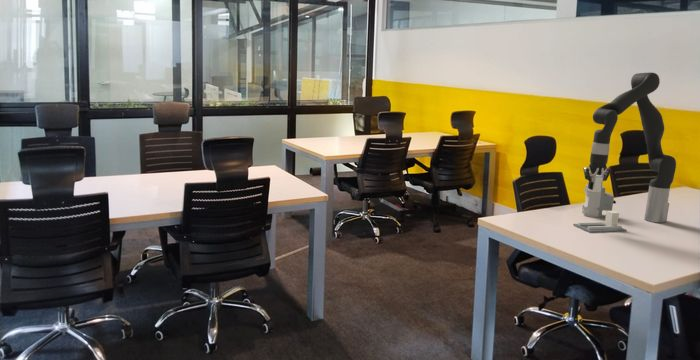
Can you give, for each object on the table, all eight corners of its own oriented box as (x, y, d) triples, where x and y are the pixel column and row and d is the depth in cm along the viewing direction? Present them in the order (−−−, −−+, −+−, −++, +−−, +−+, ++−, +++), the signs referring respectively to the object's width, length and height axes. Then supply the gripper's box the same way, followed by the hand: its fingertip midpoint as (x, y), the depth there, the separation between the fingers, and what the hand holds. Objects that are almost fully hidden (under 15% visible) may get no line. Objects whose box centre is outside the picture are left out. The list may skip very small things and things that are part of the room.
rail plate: (609, 224, 293) (611, 208, 291) (626, 231, 282) (628, 215, 280) (573, 225, 287) (575, 209, 286) (589, 232, 276) (591, 216, 274)
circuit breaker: (614, 218, 305) (618, 189, 302) (584, 215, 307) (588, 186, 304) (611, 215, 312) (615, 186, 309) (581, 212, 314) (585, 183, 311)
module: (593, 189, 287) (595, 175, 285) (600, 192, 282) (602, 177, 280) (586, 189, 286) (589, 174, 284) (593, 191, 281) (595, 177, 280)
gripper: (607, 151, 285) (602, 187, 289) (581, 151, 282) (576, 187, 285) (618, 154, 278) (612, 191, 281) (591, 153, 274) (586, 191, 278)
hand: (594, 189), depth 283 cm, fingers closed on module, 3 cm apart
